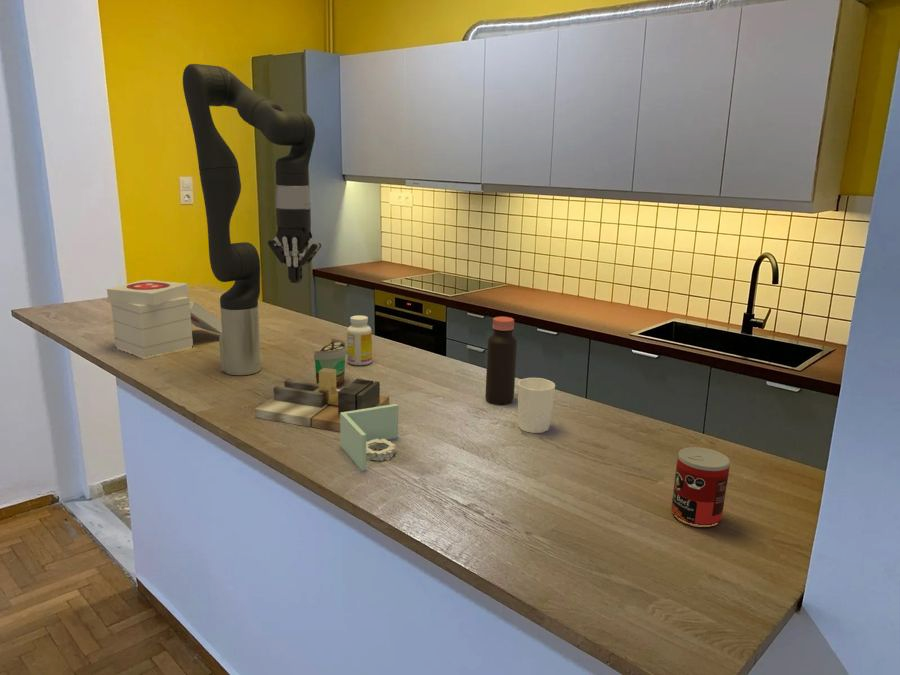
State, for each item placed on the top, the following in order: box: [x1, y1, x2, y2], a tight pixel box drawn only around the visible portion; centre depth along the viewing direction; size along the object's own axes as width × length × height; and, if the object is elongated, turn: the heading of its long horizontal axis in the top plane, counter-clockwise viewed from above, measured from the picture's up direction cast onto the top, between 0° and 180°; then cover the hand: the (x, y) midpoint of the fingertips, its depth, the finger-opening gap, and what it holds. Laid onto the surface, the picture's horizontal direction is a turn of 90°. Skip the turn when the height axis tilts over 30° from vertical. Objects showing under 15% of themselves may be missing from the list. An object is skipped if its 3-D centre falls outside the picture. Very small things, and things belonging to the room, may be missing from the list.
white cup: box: [517, 377, 556, 434], centre depth 147 cm, size 8×8×10 cm
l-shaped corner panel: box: [339, 403, 399, 472], centre depth 133 cm, size 12×12×8 cm
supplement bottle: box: [346, 315, 373, 367], centre depth 187 cm, size 7×7×13 cm
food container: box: [313, 338, 348, 389], centre depth 170 cm, size 12×6×10 cm, turn 168°
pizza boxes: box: [106, 279, 222, 357], centre depth 198 cm, size 19×30×18 cm, turn 143°
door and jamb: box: [254, 378, 390, 433], centre depth 153 cm, size 24×18×7 cm
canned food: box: [670, 446, 731, 525], centre depth 113 cm, size 8×8×11 cm
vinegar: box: [484, 316, 518, 405], centre depth 161 cm, size 7×7×20 cm
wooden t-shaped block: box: [313, 368, 339, 405], centre depth 151 cm, size 12×2×7 cm, turn 72°
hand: (295, 282), depth 157 cm, fingers closed
